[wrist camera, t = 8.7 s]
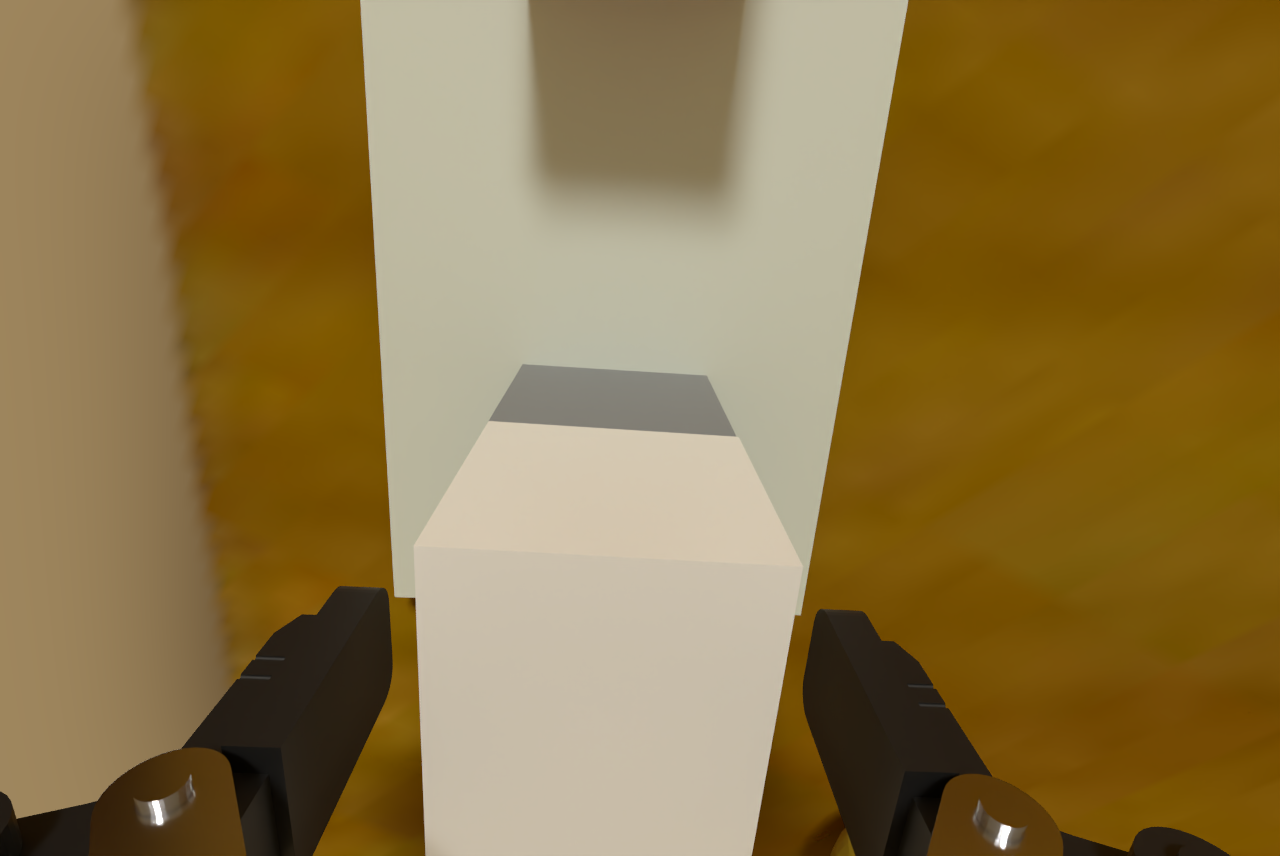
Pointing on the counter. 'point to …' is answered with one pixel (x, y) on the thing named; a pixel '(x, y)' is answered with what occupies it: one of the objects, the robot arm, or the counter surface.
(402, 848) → the counter surface
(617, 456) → the cream brick
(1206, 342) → the counter surface
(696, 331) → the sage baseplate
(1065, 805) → the counter surface
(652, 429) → the charcoal brick
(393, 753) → the counter surface
